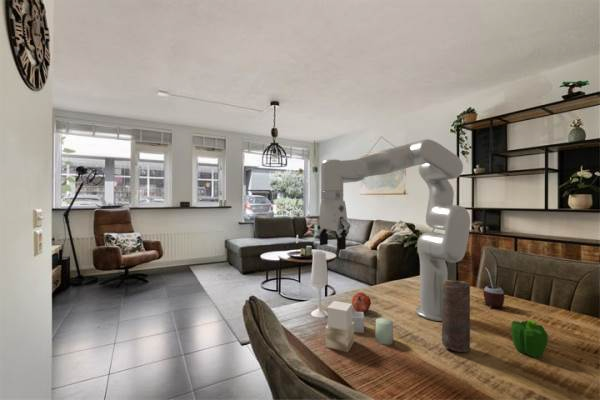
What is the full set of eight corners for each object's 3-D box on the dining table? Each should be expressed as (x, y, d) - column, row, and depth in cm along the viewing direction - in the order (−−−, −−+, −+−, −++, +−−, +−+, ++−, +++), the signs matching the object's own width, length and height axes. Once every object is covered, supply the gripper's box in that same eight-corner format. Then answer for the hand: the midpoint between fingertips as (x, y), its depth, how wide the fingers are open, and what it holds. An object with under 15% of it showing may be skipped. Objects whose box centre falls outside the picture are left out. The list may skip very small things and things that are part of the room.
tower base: (354, 341, 88) (354, 322, 88) (347, 352, 81) (347, 332, 81) (333, 336, 91) (332, 318, 91) (325, 347, 84) (325, 327, 84)
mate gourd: (501, 311, 109) (501, 273, 109) (478, 305, 116) (478, 269, 115) (507, 307, 114) (507, 270, 114) (485, 301, 120) (485, 267, 120)
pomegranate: (354, 311, 116) (344, 302, 110) (361, 295, 118) (352, 286, 112) (370, 319, 110) (360, 310, 104) (377, 302, 113) (368, 292, 107)
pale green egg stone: (393, 338, 89) (393, 319, 89) (391, 346, 85) (391, 326, 85) (377, 335, 92) (377, 316, 92) (374, 342, 87) (374, 323, 87)
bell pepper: (508, 342, 87) (508, 310, 87) (543, 349, 83) (543, 315, 83) (513, 355, 80) (513, 320, 79) (551, 363, 75) (551, 327, 75)
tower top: (352, 322, 87) (352, 303, 87) (346, 331, 82) (346, 310, 82) (333, 319, 90) (333, 300, 90) (327, 327, 85) (327, 307, 85)
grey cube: (363, 326, 98) (363, 312, 98) (363, 333, 93) (363, 318, 93) (349, 325, 99) (348, 311, 99) (348, 331, 94) (348, 317, 94)
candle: (469, 358, 78) (469, 287, 78) (440, 351, 82) (440, 283, 82) (470, 346, 84) (470, 280, 84) (443, 339, 88) (443, 277, 88)
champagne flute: (322, 309, 113) (322, 250, 113) (331, 315, 107) (331, 253, 107) (307, 312, 110) (307, 251, 110) (316, 318, 104) (315, 254, 104)
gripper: (358, 196, 89) (358, 250, 89) (325, 196, 104) (325, 242, 104) (339, 196, 85) (339, 252, 85) (308, 196, 100) (309, 244, 100)
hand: (332, 247), depth 94 cm, fingers open, 9 cm apart
